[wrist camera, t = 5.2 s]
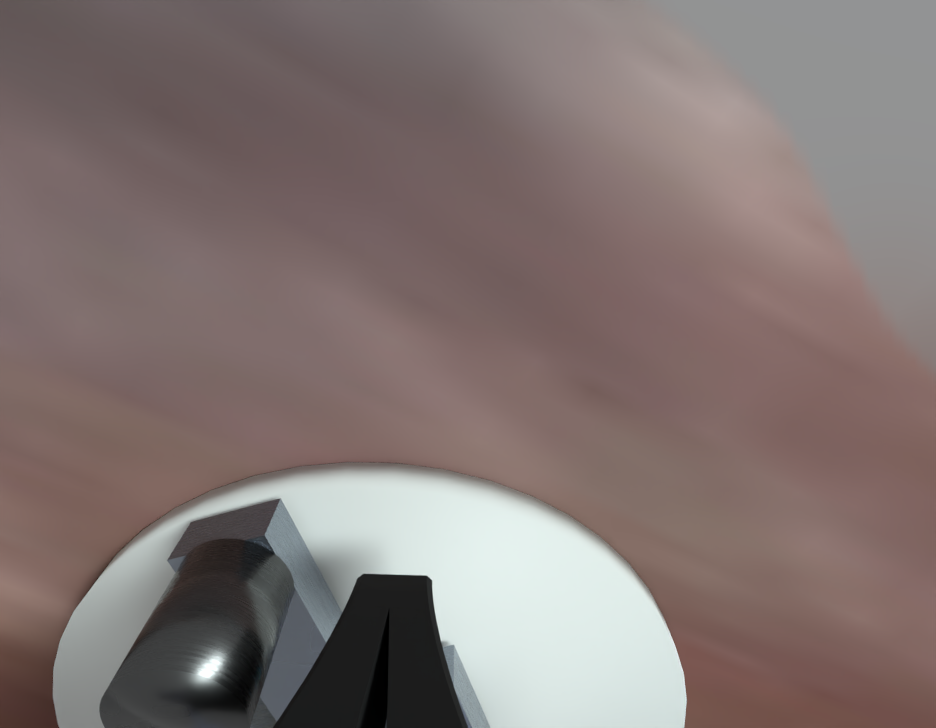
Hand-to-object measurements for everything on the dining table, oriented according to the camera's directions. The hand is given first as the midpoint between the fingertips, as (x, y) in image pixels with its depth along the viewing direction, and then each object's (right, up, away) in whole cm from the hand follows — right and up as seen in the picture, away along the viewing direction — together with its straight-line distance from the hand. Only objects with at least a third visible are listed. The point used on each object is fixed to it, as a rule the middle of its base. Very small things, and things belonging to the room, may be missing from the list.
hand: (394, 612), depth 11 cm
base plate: (-1, -6, +7) cm, 9 cm away
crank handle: (-2, -4, +4) cm, 6 cm away
